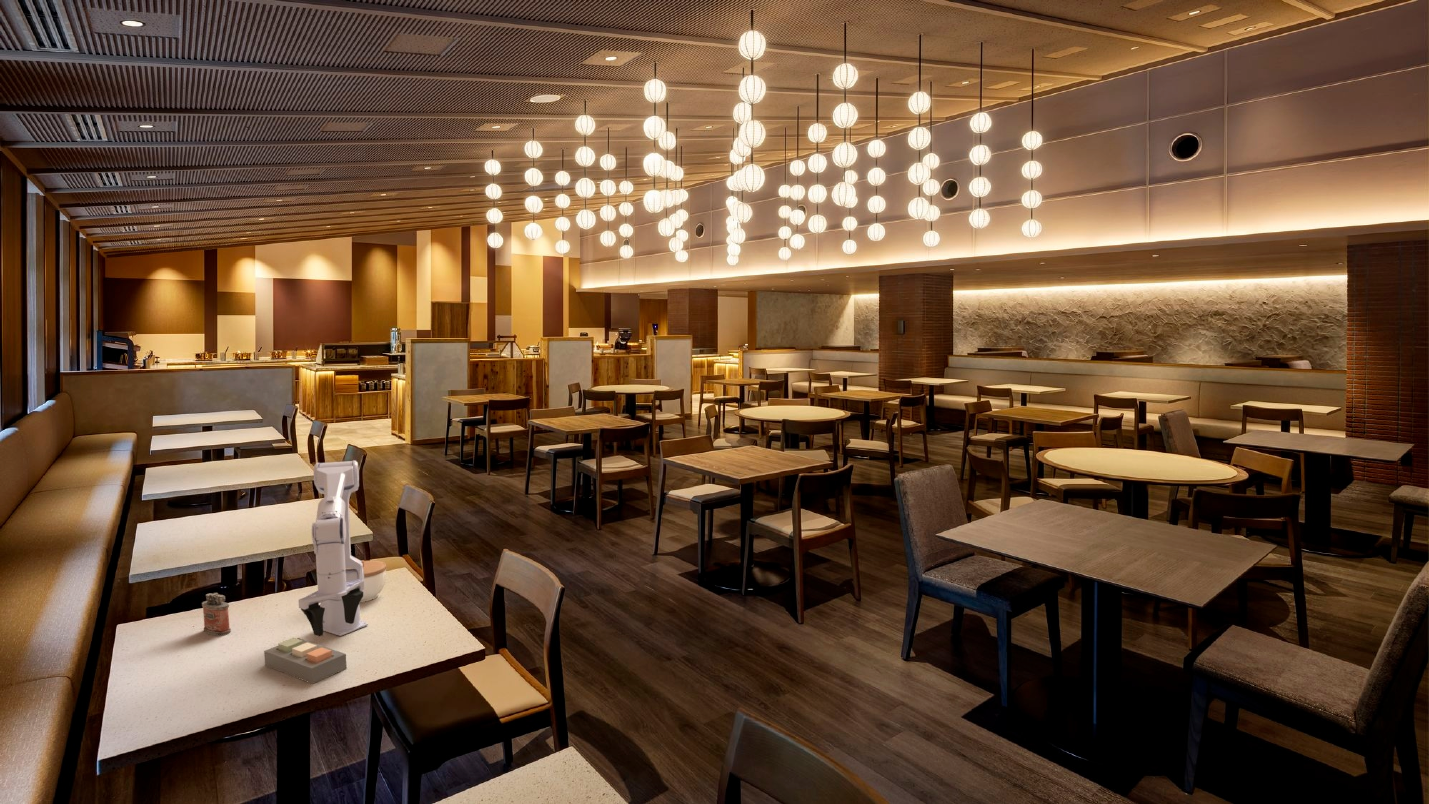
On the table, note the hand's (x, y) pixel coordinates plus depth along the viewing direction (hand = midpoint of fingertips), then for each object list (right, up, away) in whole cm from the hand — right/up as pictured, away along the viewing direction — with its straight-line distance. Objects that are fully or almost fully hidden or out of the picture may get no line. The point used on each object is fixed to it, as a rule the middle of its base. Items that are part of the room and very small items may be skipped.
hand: (334, 628), depth 162 cm
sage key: (-12, -7, +4) cm, 15 cm away
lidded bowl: (-15, -5, +44) cm, 47 cm away
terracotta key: (-3, -7, -1) cm, 8 cm away
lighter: (-41, -8, +21) cm, 47 cm away
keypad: (-8, -9, +2) cm, 12 cm away
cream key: (-8, -7, +2) cm, 10 cm away
